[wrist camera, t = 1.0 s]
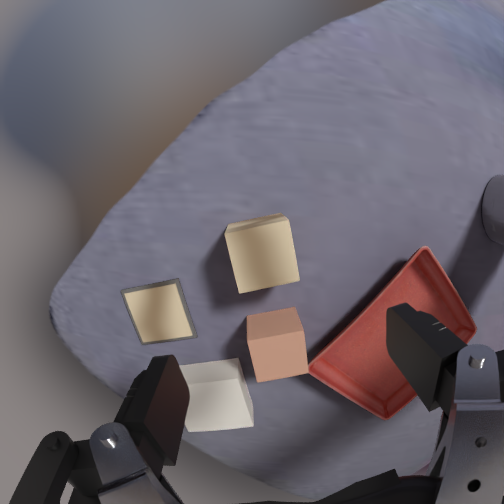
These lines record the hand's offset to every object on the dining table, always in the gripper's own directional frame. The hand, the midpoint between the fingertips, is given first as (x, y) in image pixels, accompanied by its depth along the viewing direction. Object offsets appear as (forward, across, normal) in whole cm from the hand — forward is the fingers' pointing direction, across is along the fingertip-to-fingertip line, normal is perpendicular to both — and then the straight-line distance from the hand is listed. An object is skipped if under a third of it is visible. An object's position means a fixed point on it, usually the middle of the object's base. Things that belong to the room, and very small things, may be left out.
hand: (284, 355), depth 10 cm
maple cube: (+18, 0, 0) cm, 18 cm away
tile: (+18, +12, +5) cm, 22 cm away
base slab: (+18, +9, +16) cm, 26 cm away
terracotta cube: (+18, 0, +10) cm, 20 cm away
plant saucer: (+18, -14, +15) cm, 28 cm away
